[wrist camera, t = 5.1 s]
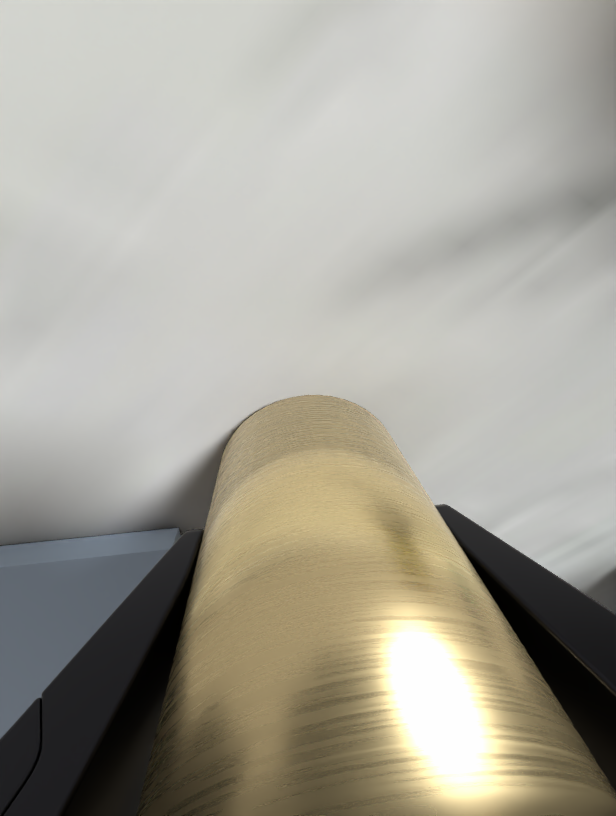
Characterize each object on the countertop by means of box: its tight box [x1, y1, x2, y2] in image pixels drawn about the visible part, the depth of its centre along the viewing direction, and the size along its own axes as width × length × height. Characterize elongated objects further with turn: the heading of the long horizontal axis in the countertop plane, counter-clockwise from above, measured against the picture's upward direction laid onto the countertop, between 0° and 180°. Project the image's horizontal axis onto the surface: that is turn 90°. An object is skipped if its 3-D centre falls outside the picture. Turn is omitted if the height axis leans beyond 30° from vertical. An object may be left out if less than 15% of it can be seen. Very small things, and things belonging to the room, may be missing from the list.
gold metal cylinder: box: [136, 395, 616, 816], centre depth 7 cm, size 5×5×7 cm
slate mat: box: [0, 528, 181, 738], centre depth 11 cm, size 9×9×1 cm
